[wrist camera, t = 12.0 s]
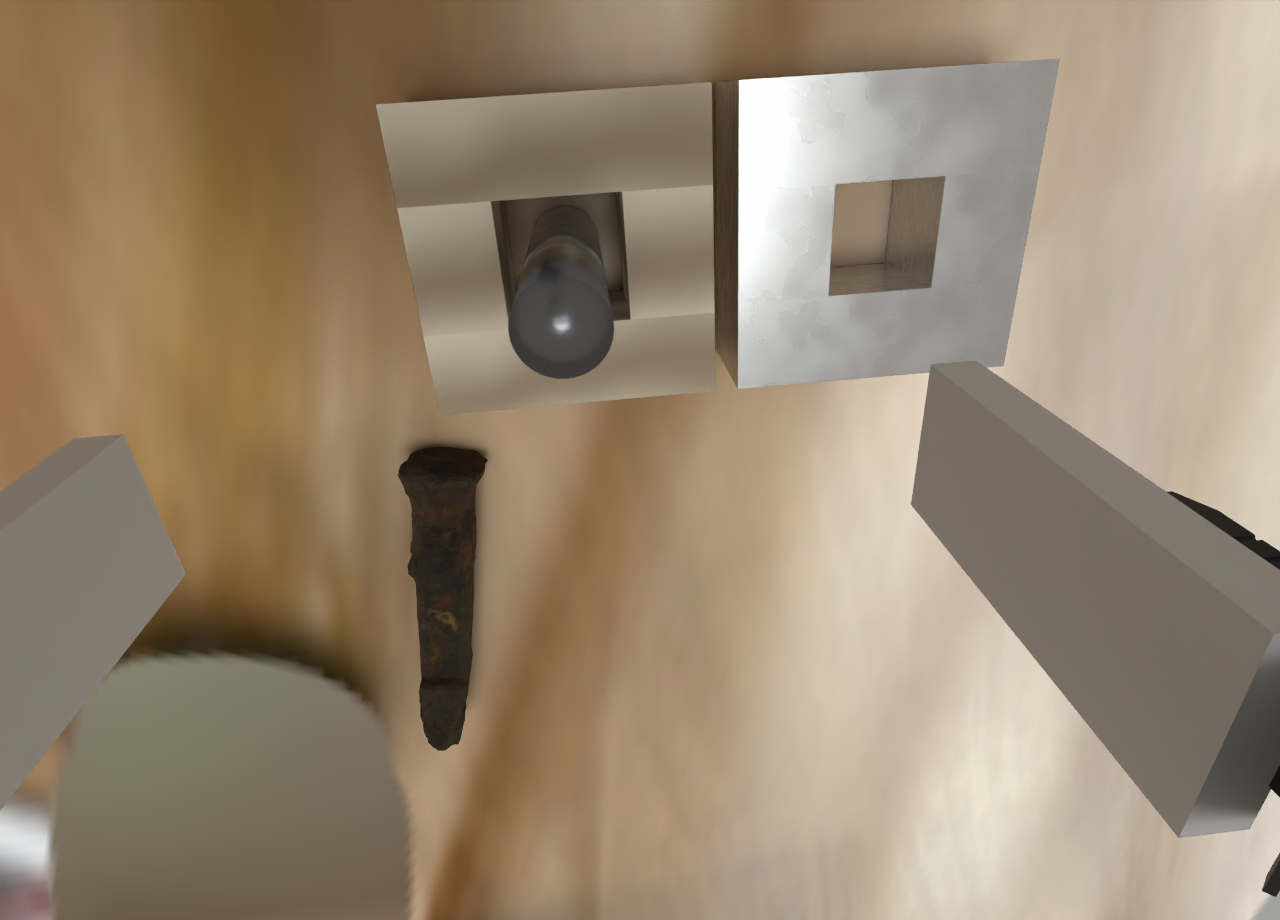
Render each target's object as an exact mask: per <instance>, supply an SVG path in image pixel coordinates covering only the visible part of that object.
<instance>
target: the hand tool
mask: <svg viewBox="0 0 1280 920" xmlns="http://www.w3.org/2000/svg"><path fill="white" fill-rule="evenodd" d="M486 462H487V459H486V458H485V457H483V456H481V455H480V454H479V453H478V452H477V451H473V450H460V449H455V448H442V447H439V448H430V449H422V450H419V451H416V452H413V453H412V454H411V455H410V456H409V458H408V460H407V461H405V462H404V463H403V464H401V466H400V469H399V474H398V476H399V478H400V480H401V482H402V484H403V486H404V489H405V492H406V494H407V495H408V496H409V499H410V502H411V505H412V528H413V530H412V532H413V537H412V542H411V549H410V551H411V553H412V555H411V559H410V561H409V564H408V573H409V575H410V576H411V577H413V578H414V580H415V582H416V595H417V617H418V623H419V640H420V657H421V675H422V680H421V684H420V690H419V695H420V704H421V715H420V717H421V719H422V722H423V728H424V733H425V735H426V737H427V738H428V743H429V744H430V745H432V747H434V748H435V749H437V750H438V751H439V750H442V751H443V750H446V749H448V748H449V747H450V746H451V745H454V744H459V741H460V739H461V734H462V729H463V724H464V721H465V710H466V698H467V695H468V687H469V677H470V671H471V663H472V656H473V655H472V649H471V636H472V618H473V594H474V586H473V569H474V560H475V549H476V517H475V490H476V484H477V483H478V482H479V480H480V479H481V477H482V476H483V474H484V471H485V463H486Z"/></svg>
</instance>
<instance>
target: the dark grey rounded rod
mask: <svg viewBox="0 0 1280 920" xmlns="http://www.w3.org/2000/svg"><path fill="white" fill-rule="evenodd" d="M508 332H509V338H510V341H511V344H512V347H513V349H514V351H515V353H516V354H517V356H518V357H519V358H520V359H521V361H522V362H523V363H524V364H525V365H527V366H528V367H529V368H530V369H532V370H533V371H535V372H537V373H539V374H541V375H544V376H546V377H550V378H556V379H569V378H575V377H578V376H581V375H584V374H586V373H588V372H590V371H591V370H593V369H594V368H595V367H597V366H598V365H599V364H600V363H601V362H602V361H603V359H604V358H605V357H606V355H607V353H608V352H609V350H610V347H611V345H612V341H613V336H614V321H613V315H612V310H611V304H610V299H609V293H608V288H607V282H606V277H605V271H604V266H603V260H602V255H601V249H600V244H599V238H598V233H597V230H596V227H595V225H594V223H593V221H592V220H591V219H590V217H589V216H588V215H587V214H585V213H584V212H583V211H581V210H579V209H577V208H574V207H570V206H559V207H555V208H552V209H550V210H548V211H547V212H545V213H544V214H543V215H542V216H541V217H540V218H539V220H538V221H537V223H536V225H535V227H534V230H533V234H532V237H531V241H530V244H529V248H528V251H527V255H526V258H525V262H524V265H523V269H522V272H521V276H520V280H519V283H518V287H517V290H516V294H515V297H514V301H513V304H512V308H511V311H510V315H509V320H508Z"/></svg>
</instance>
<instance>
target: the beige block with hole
mask: <svg viewBox="0 0 1280 920" xmlns="http://www.w3.org/2000/svg"><path fill="white" fill-rule="evenodd" d="M376 108H377V113H378V118H379V122H380V127H381V132H382V137H383V142H384V147H385V152H386V156H387V161H388V166H389V171H390V176H391V181H392V186H393V191H394V195H395V200H396V205H397V210H398V215H399V220H400V225H401V229H402V234H403V239H404V244H405V249H406V254H407V259H408V264H409V268H410V273H411V278H412V283H413V288H414V293H415V298H416V302H417V307H418V312H419V317H420V322H421V327H422V332H423V337H424V341H425V346H426V351H427V356H428V361H429V366H430V371H431V376H432V380H433V385H434V390H435V395H436V400H437V405H438V410H439V414H440V415H445V414H457V413H468V412H480V411H491V410H503V409H514V408H526V407H537V406H549V405H560V404H572V403H583V402H595V401H606V400H618V399H629V398H641V397H652V396H664V395H675V394H687V393H698V392H709V391H715V315H714V231H713V148H712V82H704V83H689V84H674V85H660V86H645V87H630V88H615V89H600V90H585V91H570V92H555V93H540V94H525V95H510V96H495V97H480V98H466V99H451V100H436V101H421V102H406V103H391V104H376ZM610 192H616V194H617V208H618V222H619V237H620V251H621V265H622V279H623V290H619V291H608V293H609V299H610V304H611V310H612V315H613V321H614V336H613V341H612V345H611V347H610V350H609V352H608V353H607V355H606V357H605V358H604V359H603V361H602V362H601V363H600V364H599V365H598V366H597V367H595V368H594V369H593V370H591V371H590V372H588V373H586V374H584V375H581V376H578V377H575V378H569V379H556V378H550V377H546V376H544V375H541V374H539V373H537V372H535V371H533V370H532V369H530V368H529V367H528V366H527V365H525V364H524V363H523V362H522V361H521V359H520V358H519V357H518V356H517V354H516V353H515V351H514V349H513V347H512V344H511V341H510V338H509V332H508V320H509V315H510V311H511V308H512V304H513V301H514V297H515V294H516V290H517V289H516V281H515V274H514V267H513V260H512V253H511V245H510V238H509V231H508V224H507V217H506V210H505V202H504V200H515V199H529V198H542V197H556V196H569V195H583V194H597V193H610Z"/></svg>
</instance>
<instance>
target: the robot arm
mask: <svg viewBox="0 0 1280 920" xmlns="http://www.w3.org/2000/svg"><path fill="white" fill-rule="evenodd" d="M911 505H912V506H913V508H914V509H915V510H916V511H917V512H918V514H919V515H920V516H921V517H922V519H923V520H924V521H925V522H926V524H927V525H928V526H929V527H930V529H931V530H932V531H933V532H934V534H935V535H936V536H937V537H938V539H939V540H940V541H941V542H942V544H943V545H944V546H945V547H946V549H947V550H948V551H949V552H950V554H951V555H952V556H953V557H954V559H955V560H956V561H957V562H958V564H959V565H960V566H961V567H962V569H963V570H964V571H965V572H966V574H967V575H968V576H969V577H970V578H971V580H972V581H973V582H974V583H975V585H976V586H977V587H978V588H979V590H980V591H981V592H982V593H983V595H984V596H985V597H986V598H987V600H988V601H989V602H990V603H991V605H992V606H993V607H994V608H995V610H996V611H997V612H998V613H999V615H1000V616H1001V617H1002V618H1003V620H1004V621H1005V622H1006V623H1007V625H1008V626H1009V627H1010V628H1011V630H1012V631H1013V632H1014V633H1015V635H1016V636H1017V637H1018V638H1019V640H1020V641H1021V642H1022V643H1023V644H1024V646H1025V647H1026V648H1027V649H1028V651H1029V652H1030V653H1031V654H1032V656H1033V657H1034V658H1035V659H1036V661H1037V662H1038V663H1039V664H1040V666H1041V667H1042V668H1043V669H1044V671H1045V672H1046V673H1047V674H1048V676H1049V677H1050V678H1051V679H1052V681H1053V682H1054V683H1055V684H1056V686H1057V687H1058V688H1059V689H1060V691H1061V692H1062V693H1063V694H1064V696H1065V697H1066V698H1067V699H1068V701H1069V702H1070V703H1071V704H1072V706H1073V707H1074V708H1075V709H1076V710H1077V712H1078V713H1079V714H1080V715H1081V717H1082V718H1083V719H1084V720H1085V722H1086V723H1087V724H1088V725H1089V727H1090V728H1091V729H1092V730H1093V732H1094V733H1095V734H1096V735H1097V737H1098V738H1099V739H1100V740H1101V742H1102V743H1103V744H1104V745H1105V747H1106V748H1107V749H1108V750H1109V752H1110V753H1111V754H1112V755H1113V757H1114V758H1115V759H1116V760H1117V762H1118V763H1119V764H1120V765H1121V767H1122V768H1123V769H1124V770H1125V772H1126V773H1127V774H1128V775H1129V776H1130V778H1131V779H1132V780H1133V781H1134V783H1135V784H1136V785H1137V786H1138V788H1139V789H1140V790H1141V791H1142V793H1143V794H1144V795H1145V796H1146V798H1147V799H1148V800H1149V801H1150V803H1151V804H1152V805H1153V806H1154V808H1155V809H1156V810H1157V811H1158V813H1159V814H1160V815H1161V816H1162V818H1163V819H1164V820H1165V821H1166V823H1167V824H1168V825H1169V826H1170V828H1171V829H1172V830H1173V831H1174V833H1175V834H1176V835H1177V836H1178V838H1181V837H1190V836H1198V835H1206V834H1215V833H1223V832H1231V831H1239V830H1248V829H1250V827H1251V825H1252V823H1253V822H1254V820H1255V818H1256V816H1257V814H1258V812H1259V810H1260V809H1261V807H1262V805H1263V803H1264V801H1265V799H1266V797H1267V795H1268V794H1269V792H1270V790H1271V789H1272V790H1273V791H1274V792H1275V793H1276V794H1277V795H1278V796H1279V797H1280V551H1278V550H1277V549H1275V548H1274V547H1272V546H1271V545H1269V544H1268V543H1266V542H1265V541H1263V540H1258V541H1257V540H1256V539H1255V535H1254V534H1253V533H1251V532H1250V531H1248V530H1247V529H1245V528H1244V527H1242V526H1241V525H1239V524H1238V523H1236V522H1235V521H1233V520H1232V519H1230V518H1229V517H1227V516H1226V515H1224V514H1223V513H1221V512H1219V511H1218V510H1215V509H1213V508H1211V507H1208V506H1206V505H1203V504H1201V503H1199V502H1196V501H1194V500H1191V499H1189V498H1187V497H1184V496H1182V495H1179V494H1177V493H1175V492H1166V491H1164V490H1163V489H1161V488H1160V487H1158V486H1157V485H1156V484H1154V483H1153V482H1151V481H1150V480H1148V479H1147V478H1145V477H1144V476H1142V475H1141V474H1140V473H1138V472H1137V471H1135V470H1134V469H1132V468H1131V467H1129V466H1128V465H1127V464H1125V463H1124V462H1122V461H1121V460H1119V459H1118V458H1116V457H1115V456H1113V455H1112V454H1111V453H1109V452H1108V451H1106V450H1105V449H1103V448H1102V447H1100V446H1099V445H1097V444H1096V443H1095V442H1093V441H1092V440H1090V439H1089V438H1087V437H1086V436H1084V435H1083V434H1082V433H1080V432H1079V431H1077V430H1076V429H1074V428H1073V427H1071V426H1070V425H1068V424H1067V423H1066V422H1064V421H1063V420H1061V419H1060V418H1058V417H1057V416H1055V415H1054V414H1053V413H1051V412H1050V411H1048V410H1047V409H1045V408H1044V407H1042V406H1041V405H1039V404H1038V403H1037V402H1035V401H1034V400H1032V399H1031V398H1029V397H1028V396H1026V395H1025V394H1024V393H1022V392H1021V391H1019V390H1018V389H1016V388H1015V387H1013V386H1012V385H1010V384H1009V383H1008V382H1006V381H1005V380H1003V379H1002V378H1000V377H999V376H997V375H996V374H994V373H993V372H992V371H990V370H989V369H987V368H986V367H984V366H983V365H981V364H980V363H979V362H977V361H976V360H974V361H962V362H951V363H939V364H931V367H930V374H929V381H928V388H927V395H926V403H925V410H924V417H923V424H922V431H921V438H920V445H919V452H918V459H917V467H916V474H915V481H914V488H913V495H912V502H911ZM185 575H186V574H185V571H184V569H183V567H182V565H181V562H180V560H179V558H178V556H177V553H176V551H175V549H174V547H173V544H172V542H171V540H170V538H169V535H168V533H167V531H166V529H165V526H164V524H163V522H162V520H161V517H160V515H159V513H158V510H157V508H156V506H155V504H154V501H153V499H152V497H151V495H150V492H149V490H148V488H147V486H146V483H145V481H144V479H143V477H142V474H141V472H140V470H139V468H138V465H137V463H136V461H135V459H134V456H133V454H132V452H131V450H130V447H129V445H128V443H127V441H126V438H125V436H124V434H122V435H110V436H98V437H87V438H75V439H73V440H71V441H70V442H69V443H67V444H66V445H64V446H63V447H62V448H60V449H59V450H57V451H56V452H55V453H53V454H52V455H50V456H49V457H48V458H46V459H45V460H43V461H42V462H41V463H39V464H38V465H36V466H35V467H34V468H32V469H31V470H29V471H28V472H27V473H25V474H24V475H22V476H21V477H20V478H18V479H17V480H15V481H14V482H13V483H11V484H10V485H8V486H7V487H6V488H4V489H3V490H1V491H0V810H1V809H2V808H3V806H4V805H5V804H6V803H7V801H8V800H9V799H10V798H11V796H12V795H13V794H14V792H15V791H16V790H17V789H18V787H19V786H20V785H21V784H22V782H23V781H24V780H25V778H26V777H27V776H28V775H29V773H30V772H31V771H32V770H33V768H34V767H35V766H36V764H37V763H38V762H39V761H40V759H41V758H42V757H43V755H44V754H45V753H46V752H47V750H48V749H49V748H50V747H51V745H52V744H53V743H54V741H55V740H56V739H57V738H58V736H59V735H60V734H61V733H62V731H63V730H64V729H65V727H66V726H67V725H68V724H69V722H70V721H71V720H72V719H73V717H74V716H75V715H76V713H77V712H78V711H79V710H80V708H81V707H82V706H83V705H84V703H85V702H86V701H87V699H88V698H89V697H90V696H91V694H92V693H93V692H94V691H95V689H96V688H97V687H98V685H99V684H100V683H101V682H102V680H103V679H104V678H105V677H106V675H107V674H108V673H109V671H110V670H111V669H112V668H113V666H114V665H115V664H116V662H117V661H118V660H119V659H120V657H121V656H122V655H123V654H124V652H125V651H126V650H127V648H128V647H129V646H130V645H131V643H132V642H133V641H134V640H135V638H136V637H137V636H138V634H139V633H140V632H141V631H142V629H143V628H144V627H145V626H146V624H147V623H148V622H149V620H150V619H151V618H152V617H153V615H154V614H155V613H156V612H157V610H158V609H159V608H160V606H161V605H162V604H163V603H164V601H165V600H166V599H167V598H168V596H169V595H170V594H171V592H172V591H173V590H174V589H175V587H176V586H177V585H178V584H179V582H180V581H181V580H182V578H183V577H184V576H185ZM1262 891H1263V892H1266V893H1268V894H1270V895H1272V896H1277V894H1278V893H1279V891H1280V853H1279V855H1278V857H1277V859H1276V860H1275V862H1274V864H1273V865H1272V867H1271V869H1270V871H1269V872H1268V874H1267V876H1266V880H1265V883H1264V886H1263V889H1262Z"/></svg>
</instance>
